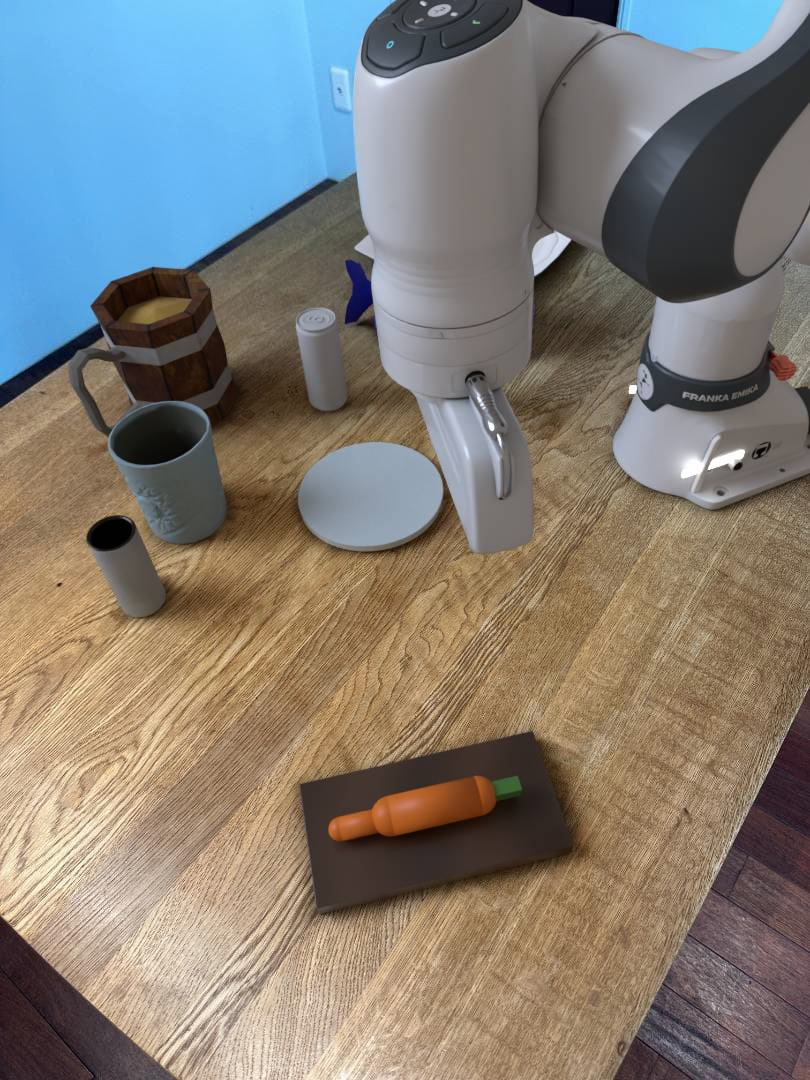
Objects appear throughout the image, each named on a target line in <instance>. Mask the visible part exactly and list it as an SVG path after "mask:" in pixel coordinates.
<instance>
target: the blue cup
mask: <svg viewBox="0 0 810 1080" xmlns="http://www.w3.org/2000/svg"><path fill="white" fill-rule="evenodd" d="M116 423H117V422H116ZM212 431H213V430H212V425H211V424H210V420H209V418H208V416H207V415H206V413H205V412H204V411H203V410H202V409H201V408H199V407H197V406H195V405H193V404H190V403H186V402H180V401H164V402H158V403H153V404H150V405H146V406H143V407H141V408H139V409H137V410H135V411H133V412H131V413H130V414H128V415H127V416H126V417H124V418H123V419H122V420H121V421H120V422H118V423H117V425H116V426H115V427H114V428H113V430H112V431H111V433H110V435H109V437H108V439H107V449H108V452H109V454H110V456H111V457H112V459H113V461H114V463H115V464H116V466H117V467H118V470H119V472H120V474H122V475H123V476H124V481H125V482H126V485H127V486H128V487H129V491H130V492H131V493H132V495H133V497H134V498H135V499H136V503H137V505H138V506H139V508H140V509H141V512H142V514H143V515H144V517H145V519H146V522H147V524H148V526H149V527H150V530H151V531H152V532H153V534H154V535H155V536H156V537H157V538H159V540H162V541H163V542H166V543H169V544H173V545H174V544H175V545H187V544H188V545H189V544H194V543H196V542H199V541H202V540H204V539H207V538H208V537H210V536H211V535H213V534H214V533H215V532H216V531H218V530H219V529H220V527H222V525H223V524H224V522H225V520H226V516H227V513H228V503H227V498H226V494H225V491H224V490H223V482H222V481H223V480H222V475H221V473H220V472H221V471H220V466H219V463H218V457H217V453H216V448H215V442H214V436H213V432H212Z"/></svg>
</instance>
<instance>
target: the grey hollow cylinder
mask: <svg viewBox="0 0 810 1080" xmlns="http://www.w3.org/2000/svg"><path fill="white" fill-rule="evenodd" d="M86 533H87V534H86V536H85V541H86V544H87V546H88V548H89V550H90V552H91V555H93V558H94V559H95V561H96V564H97V565H98V567H99V569H100V571H101V573H102V574H103V576H104V578H105V580H106V582H107V584H108V586H109V588H110V590H111V591H112V593H113V595H114V597H115V599H116V601H117V603H118V605H119V607H120V608H121V610H122V611H123V612H124V614H125V615H127V616H129V617H131V618H138V619H139V618H146V617H149V616H151V615H153V614H155V613H156V612H158V611H159V610H160V609H161V608H162V606H163V605H164V604H165V601H166V598H167V593H166V590H165V587H164V584H163V583H162V579H161V578H160V576H159V574H158V573H159V572H158V571H157V569H156V566H155V565H154V563H153V560H152V558H151V555H150V553H149V551H148V549H147V547H146V545H145V543H144V540H143V538H142V535H141V533H140V531H139V529H138V526H137V525H136V523H135V521H134V519H132V518H131V517H128V516H126V515H122V514H115V515H108V516H106V517H103V518H101V519H99V520H98V521H96V522H95V523H93V524H92V525H91V526H90V528H89V529H88V531H87V532H86Z"/></svg>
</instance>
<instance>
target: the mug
mask: <svg viewBox="0 0 810 1080" xmlns="http://www.w3.org/2000/svg"><path fill="white" fill-rule="evenodd" d="M212 299H213V298H212V291H211V288H210V287H209V286H208V285H207V284H206V282H205V281H204V280H203V279H202V277H200V276H199V274H198V273H196V271H195V270H194V269H187V268H174V267H159V266H150V267H148V268H145V269H142V270H139V271H136V272H134V273H133V272H132V273H131V274H128V275H126V276H123V277H119V278H116V279H113V280H111V281H110V282H109V283H108V284H107V285H106V286H105V287H104V289H103V290H102V291H101V292H100V293H99V295H98V296H97V297H96V298H95V300H94V301H93V302H92V303H91V304H90V306H89V307H90V309H91V311H92V312H93V314H94V317H95V318H96V320H97V321H98V323H99V325H100V328H101V330H102V333H103V336H104V338H105V341H106V344H107V350H104V349H101V348H97V347H93V346H91V347H87V348H81V349H77V351H76V352H75V354H74V355H73V357H72V358H71V360H70V361H69V362H68V364H67V367H68V368H67V369H68V377H69V378H68V379H69V384H70V386H71V387H72V389H73V391H74V393H75V394H76V396H77V397H78V399H79V400H80V402H81V404H82V406H83V409H84V411H85V413H86V415H87V417H88V419H89V420H90V422H91V424H92V426H93V427H94V428H95V429H96V430H97V431H99V432H100V433H102V434H103V435H105V436H106V437H108V438H109V435H110V433H111V431H112V430H113V428H114V427H115V426H116V425H117V423H118V422H120V421H121V420H122V419H123V418H124V417H126V416H127V415H128V414H130V413H131V412H133V411H135V410H137V409H139V408H141V407H143V406H146V405H150V404H153V403H158V402H164V401H180V402H186V403H190V404H193V405H195V406H197V407H199V408H201V409H202V410H203V411H204V412H205V413H206V415H207V416H208V418H209V420H210V424H211V426H213V425H215V424H218V423H220V422H222V421H224V420H225V419H226V417H227V415H228V413H229V412H230V410H231V408H232V406H233V404H234V402H235V400H236V399H237V397H238V395H239V392H238V390H237V387H236V385H235V383H234V380H233V378H232V374H231V370H230V367H229V362H228V356H227V350H226V344H225V341H224V339H223V336H222V334H221V333H222V332H221V331H220V328H219V326H218V323H217V318H216V315H215V312H214V306H213V300H212ZM92 360H93V361H94V360H100V361H103V362H108V363H113V365H114V367H115V368H116V372H117V373H118V375H119V377H120V378H121V380H122V383H123V386H124V388H125V391H126V393H127V397H128V401H129V406H130V407H129V408H128V409H127V410H126V411H125V412H124V413H123V414H122V415H121V416H120V418H119V419H118V420H117V421H116V422H115V424H114V425H110V426H108V425H107V423H106V421H105V419H104V417H103V415H102V413H101V411H100V409H99V406H98V404H97V401H96V400H95V398H94V397H93V395H92V394H91V392H90V391H89V389H88V388H87V386H86V384H85V378H84V374H83V370H84V369H85V367H86V366H87V364H88V363H89V362H90V361H92Z"/></svg>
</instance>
